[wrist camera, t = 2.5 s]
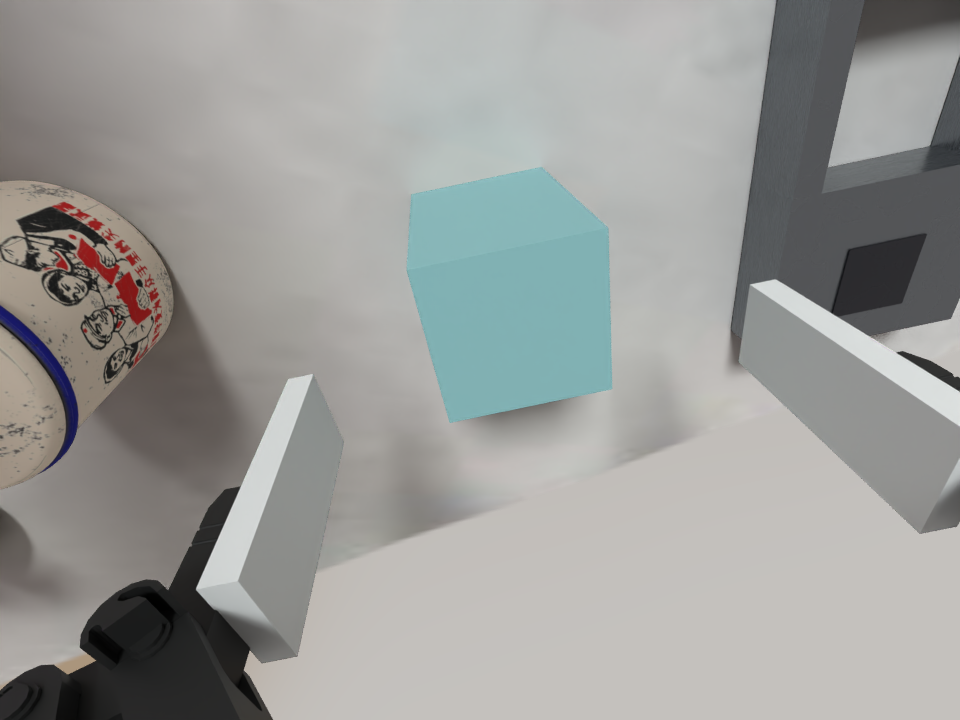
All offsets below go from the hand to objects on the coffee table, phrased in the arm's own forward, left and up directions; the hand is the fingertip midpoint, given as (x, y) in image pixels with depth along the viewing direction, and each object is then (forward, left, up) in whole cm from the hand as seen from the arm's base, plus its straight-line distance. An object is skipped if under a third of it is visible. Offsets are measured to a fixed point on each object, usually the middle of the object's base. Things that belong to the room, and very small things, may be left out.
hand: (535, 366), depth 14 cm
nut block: (0, 0, -10) cm, 10 cm away
